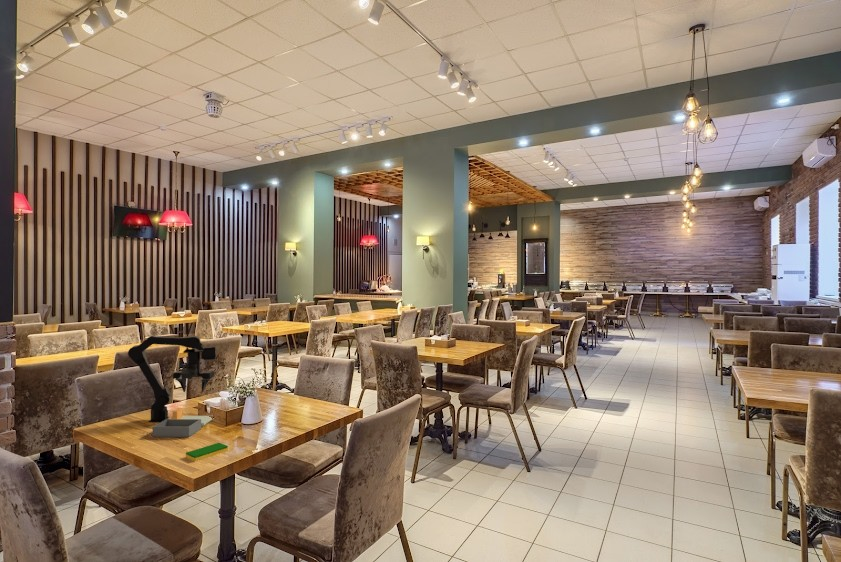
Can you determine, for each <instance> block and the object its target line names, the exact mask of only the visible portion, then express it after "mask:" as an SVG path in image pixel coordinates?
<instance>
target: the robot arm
mask: <svg viewBox="0 0 841 562" xmlns="http://www.w3.org/2000/svg"><path fill="white" fill-rule="evenodd" d="M153 345H160V346H161V345H162V346H181V347H183V348H185V349H184V350H183V354H187V363H186V364H185V368H184V369H183V370H178V371H175V372H173V373H172V379H175V381H177V382H179V384H180V386H181V389H182V391H183V392H184V393H185V392H186V390H187V379H188V380H190V379H192V378H193V377H195V378H199V377H200V378H201V379H200V381H201V392H202V393H204V391H205V388H206V387H207V385H208V383H209V381H210V379H212V378H215V372H214V370H213V371H212V370H207V371H204V372H202V370H201V365H202V361H201V359H202V360H203V361H216V360H217V350H216V346H209V347H207V346H206V347H205V346H204V345H203V343H202V342H201V338H200V337H199V336H197V335H190V336H189V335H188V336H187V335H186V336H182V337H179V336H178V337H177V336H161V335H160V336H159V335H150V336H148V337H147V339H145V340H144V341H142V342H141V343H139V344H138V345H133V346H131V347H130V348H129V349H128V352H127V355H128V357H129V359H131V361H133V363H134V364H136V365H137V366H138V367H139V369H140V371H141V372H142V374H143V375H144V377H145V379H146V381H147V382H148V384H149V386H150V388H151V390H152V391H153V396H154V400H153V402H152V404H151V405H150V419H149V420H148V422H150V423H154V422H155V423H161V422H162V421H164V420H166V419H170V417H169V410H168V407H167V406H166V405H168V404H169V402H170V400H171V398H172V391H170V389H169V387H168V385H166V386H164V385H162V383H161V381H160V380H159V379H158V377H157V375H156V373H155V371H154V370H153V368H152V366H151V365H150V363H149V361H148V358H147V353H146V350H147V349H148V348H149V347H151V346H153Z"/></svg>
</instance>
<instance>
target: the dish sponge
mask: <svg viewBox="0 0 841 562" xmlns="http://www.w3.org/2000/svg"><path fill="white" fill-rule="evenodd" d="M228 451H229V445H226V444H224V443H221V442H217V443H213V444H210V445H207V446H203V447H200V448H196V449H194V450H190V451H186V452H185V458H186V459H188V460H190V461H192V462H194V463H195V461H196V462H198V460H199V461H202V460H205V459H208V458H212V457H213V456H214V455H215V456H217V454H218V455H220V453H221V454H224V453H226V452H228ZM223 452H224V453H223Z"/></svg>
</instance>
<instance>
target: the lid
mask: <svg viewBox="0 0 841 562" xmlns="http://www.w3.org/2000/svg"><path fill="white" fill-rule="evenodd" d="M209 416H210V415H184V414H183V407H182V408H176V409H175V410H173V411H172V419H201V427H204V426H205V425H207V424H208V423H210V422H212V421H213V419H212V418H211V417H209Z"/></svg>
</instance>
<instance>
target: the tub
mask: <svg viewBox="0 0 841 562" xmlns="http://www.w3.org/2000/svg"><path fill="white" fill-rule="evenodd" d="M200 430H202V426H201V419H173V418H168V419H166V420H164V421H162V422H158V423H157V424H155V425H153V426H152V438H190V437H192V436H193V435H195V434H196V433H198V432H199V431H200Z"/></svg>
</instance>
